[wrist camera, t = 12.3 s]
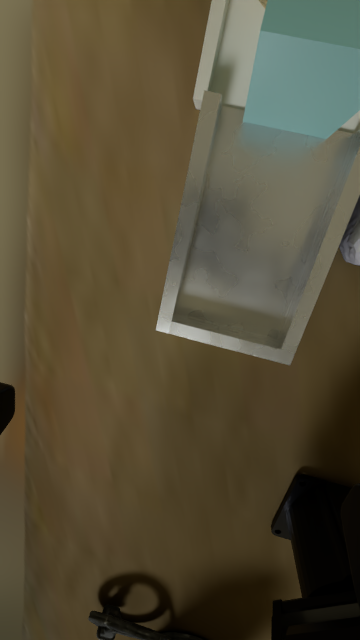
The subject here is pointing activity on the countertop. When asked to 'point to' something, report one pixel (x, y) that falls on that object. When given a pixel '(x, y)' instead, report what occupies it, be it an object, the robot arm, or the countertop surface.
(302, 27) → the mint green brick
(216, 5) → the chip tray
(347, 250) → the stone block
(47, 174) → the countertop surface
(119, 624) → the milk frother
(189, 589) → the countertop surface
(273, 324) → the channel
